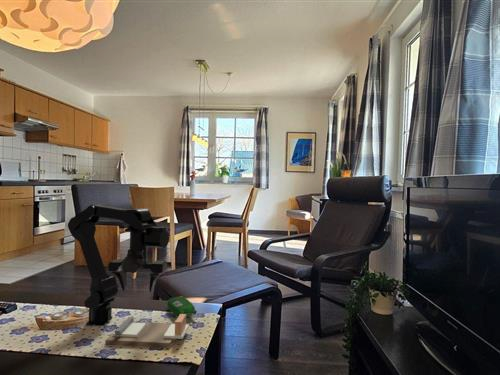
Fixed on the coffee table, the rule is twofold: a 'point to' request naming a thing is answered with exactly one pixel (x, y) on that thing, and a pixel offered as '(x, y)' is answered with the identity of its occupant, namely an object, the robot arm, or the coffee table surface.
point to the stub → (177, 328)
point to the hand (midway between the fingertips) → (137, 290)
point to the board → (144, 337)
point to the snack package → (181, 306)
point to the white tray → (130, 328)
